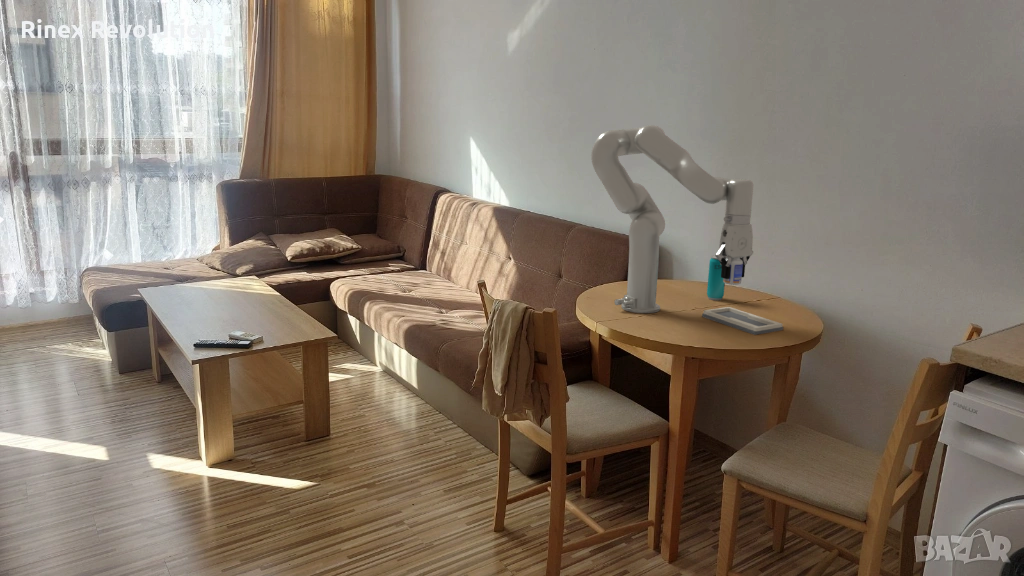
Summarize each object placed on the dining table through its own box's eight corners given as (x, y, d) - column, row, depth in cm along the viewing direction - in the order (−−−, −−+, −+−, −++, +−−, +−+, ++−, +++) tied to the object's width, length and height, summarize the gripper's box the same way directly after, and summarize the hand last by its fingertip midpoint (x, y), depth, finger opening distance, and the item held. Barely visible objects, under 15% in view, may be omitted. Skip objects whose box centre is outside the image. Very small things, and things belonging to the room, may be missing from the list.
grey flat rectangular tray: (754, 334, 220) (755, 328, 219) (702, 316, 238) (702, 310, 238) (783, 329, 225) (783, 323, 225) (729, 312, 244) (730, 306, 244)
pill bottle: (741, 282, 235) (744, 251, 233) (740, 285, 230) (743, 254, 228) (723, 280, 237) (726, 250, 235) (722, 284, 232) (725, 253, 230)
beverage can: (725, 301, 259) (729, 258, 256) (708, 300, 259) (712, 258, 256) (721, 297, 265) (724, 255, 261) (704, 296, 265) (708, 255, 261)
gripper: (725, 223, 222) (720, 282, 226) (766, 220, 230) (761, 277, 234) (708, 219, 228) (703, 277, 232) (748, 216, 236) (743, 272, 241)
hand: (732, 276), depth 233 cm, fingers closed on pill bottle, 5 cm apart
